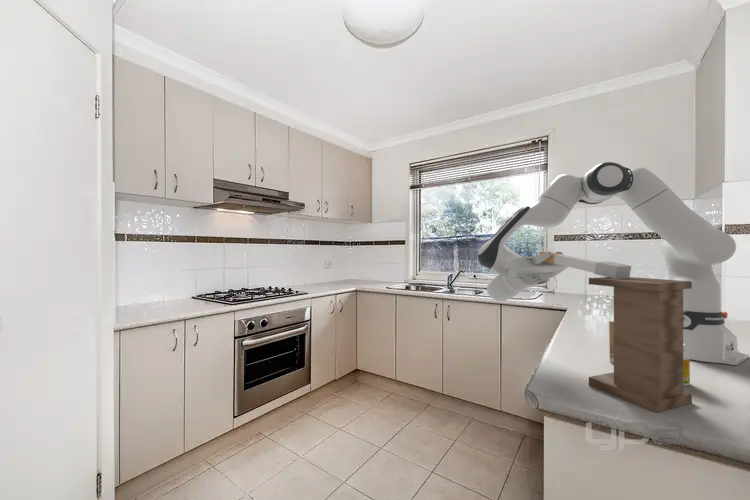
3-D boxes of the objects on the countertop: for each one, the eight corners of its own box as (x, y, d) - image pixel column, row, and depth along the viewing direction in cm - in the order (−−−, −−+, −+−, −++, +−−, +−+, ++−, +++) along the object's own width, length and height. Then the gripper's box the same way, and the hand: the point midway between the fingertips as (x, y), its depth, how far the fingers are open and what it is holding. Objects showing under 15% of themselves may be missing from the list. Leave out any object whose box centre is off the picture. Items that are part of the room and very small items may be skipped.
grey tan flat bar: (548, 259, 98) (549, 249, 98) (629, 278, 77) (631, 265, 77) (536, 259, 97) (537, 249, 96) (614, 278, 75) (617, 266, 75)
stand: (621, 378, 82) (621, 276, 82) (691, 402, 69) (691, 281, 69) (588, 385, 78) (588, 277, 78) (656, 412, 65) (656, 283, 65)
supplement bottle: (695, 387, 77) (695, 346, 77) (669, 385, 78) (669, 345, 78) (679, 378, 82) (679, 340, 82) (655, 376, 83) (655, 339, 83)
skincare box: (623, 359, 96) (623, 318, 96) (639, 364, 92) (639, 321, 92) (608, 362, 94) (608, 320, 94) (623, 367, 90) (623, 323, 90)
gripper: (494, 266, 102) (523, 244, 91) (542, 265, 109) (575, 244, 98) (501, 284, 99) (532, 264, 88) (550, 282, 106) (585, 262, 95)
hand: (555, 253), depth 93 cm, fingers closed on grey tan flat bar, 3 cm apart
